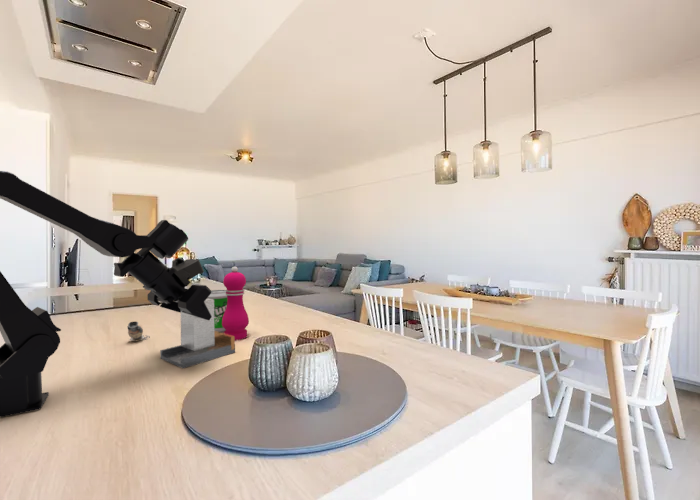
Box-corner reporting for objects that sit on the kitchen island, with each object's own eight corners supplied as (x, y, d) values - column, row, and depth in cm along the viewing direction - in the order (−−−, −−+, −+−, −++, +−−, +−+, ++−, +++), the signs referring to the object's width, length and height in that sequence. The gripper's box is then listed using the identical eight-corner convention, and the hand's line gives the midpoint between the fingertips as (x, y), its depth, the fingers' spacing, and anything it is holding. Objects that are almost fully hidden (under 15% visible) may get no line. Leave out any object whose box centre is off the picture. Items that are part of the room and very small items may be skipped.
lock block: (194, 350, 79) (193, 301, 78) (181, 346, 82) (180, 298, 82) (214, 345, 83) (214, 298, 82) (200, 341, 86) (200, 296, 86)
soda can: (203, 329, 107) (203, 290, 106) (229, 326, 110) (229, 288, 109) (205, 335, 100) (204, 293, 99) (232, 332, 103) (231, 292, 103)
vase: (143, 344, 92) (140, 322, 91) (121, 347, 91) (118, 324, 91) (151, 338, 97) (149, 317, 97) (130, 340, 96) (127, 319, 96)
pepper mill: (216, 338, 96) (214, 267, 96) (236, 332, 103) (234, 265, 102) (235, 342, 93) (234, 267, 92) (254, 335, 99) (253, 265, 99)
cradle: (182, 368, 74) (182, 349, 74) (160, 358, 80) (160, 341, 80) (235, 352, 85) (234, 336, 85) (211, 344, 91) (211, 329, 91)
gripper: (202, 247, 73) (246, 293, 82) (160, 246, 84) (203, 287, 93) (164, 289, 67) (216, 334, 76) (124, 282, 78) (174, 321, 87)
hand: (202, 316), depth 83 cm, fingers closed on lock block, 6 cm apart
